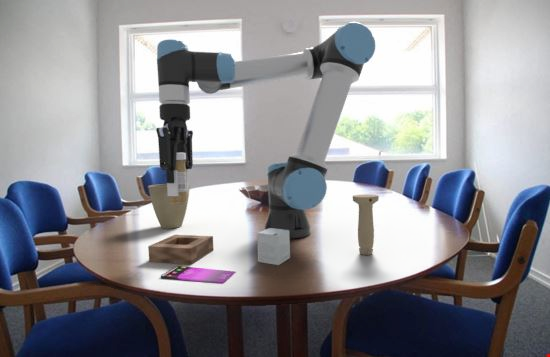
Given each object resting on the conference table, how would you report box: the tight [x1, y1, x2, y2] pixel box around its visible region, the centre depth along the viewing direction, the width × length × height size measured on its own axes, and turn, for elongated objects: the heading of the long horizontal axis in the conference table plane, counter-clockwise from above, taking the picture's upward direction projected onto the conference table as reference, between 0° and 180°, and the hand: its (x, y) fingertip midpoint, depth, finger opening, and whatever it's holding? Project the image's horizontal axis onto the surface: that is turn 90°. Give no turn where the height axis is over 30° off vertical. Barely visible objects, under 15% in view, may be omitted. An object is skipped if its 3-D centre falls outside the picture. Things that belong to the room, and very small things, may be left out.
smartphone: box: [160, 265, 237, 285], centre depth 74 cm, size 7×15×1 cm, turn 74°
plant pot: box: [147, 182, 191, 230], centre depth 125 cm, size 15×15×16 cm
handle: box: [352, 193, 380, 256], centre depth 84 cm, size 5×6×15 cm
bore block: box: [148, 234, 214, 266], centre depth 88 cm, size 12×12×4 cm
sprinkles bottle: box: [170, 153, 189, 205], centre depth 86 cm, size 5×5×13 cm
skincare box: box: [256, 228, 291, 266], centre depth 82 cm, size 6×6×7 cm
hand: (178, 194), depth 87 cm, fingers closed on sprinkles bottle, 4 cm apart
